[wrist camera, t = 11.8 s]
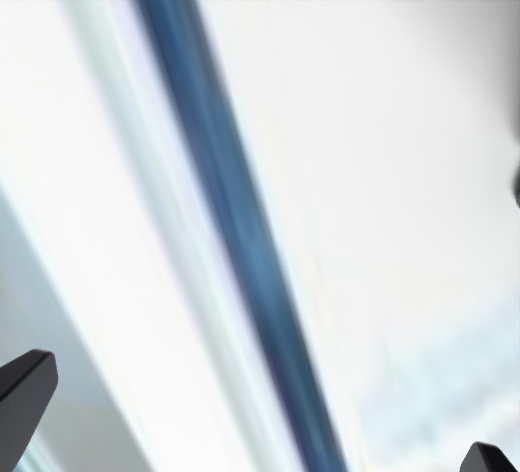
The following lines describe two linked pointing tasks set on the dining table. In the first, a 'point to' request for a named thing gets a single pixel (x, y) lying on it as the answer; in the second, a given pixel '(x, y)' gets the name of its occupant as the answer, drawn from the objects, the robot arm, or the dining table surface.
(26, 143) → the dining table surface
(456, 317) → the dining table surface
